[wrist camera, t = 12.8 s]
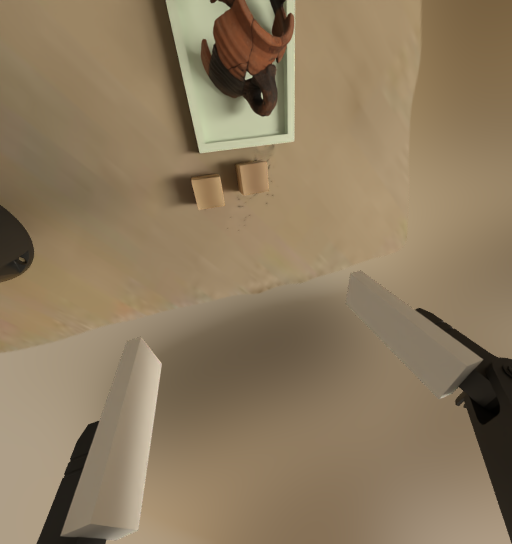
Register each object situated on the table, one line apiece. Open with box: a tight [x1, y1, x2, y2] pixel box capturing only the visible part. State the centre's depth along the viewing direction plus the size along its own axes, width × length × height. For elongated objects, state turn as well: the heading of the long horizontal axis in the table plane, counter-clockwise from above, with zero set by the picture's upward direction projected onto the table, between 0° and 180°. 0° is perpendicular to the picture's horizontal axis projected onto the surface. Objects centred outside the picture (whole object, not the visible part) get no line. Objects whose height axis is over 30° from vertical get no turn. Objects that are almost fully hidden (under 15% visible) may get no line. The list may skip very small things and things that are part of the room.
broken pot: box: [201, 0, 294, 117], centre depth 22 cm, size 12×9×8 cm
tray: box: [165, 0, 295, 153], centre depth 24 cm, size 14×16×2 cm
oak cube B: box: [235, 160, 269, 196], centre depth 30 cm, size 4×4×4 cm
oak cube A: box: [191, 174, 225, 210], centre depth 30 cm, size 4×4×4 cm
